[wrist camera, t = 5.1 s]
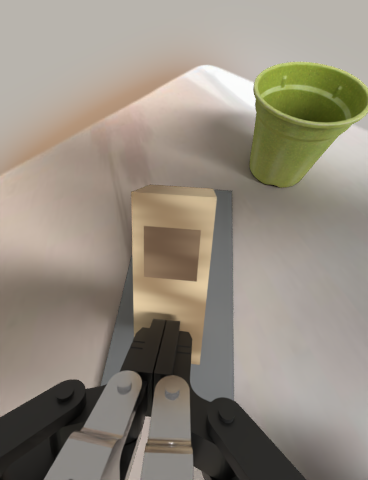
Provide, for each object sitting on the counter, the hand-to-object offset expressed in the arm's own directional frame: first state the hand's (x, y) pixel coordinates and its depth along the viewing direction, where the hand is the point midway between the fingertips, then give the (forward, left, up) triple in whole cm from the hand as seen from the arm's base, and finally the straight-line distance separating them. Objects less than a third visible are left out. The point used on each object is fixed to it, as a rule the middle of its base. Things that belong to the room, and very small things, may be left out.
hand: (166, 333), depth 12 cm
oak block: (0, 0, -4) cm, 4 cm away
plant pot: (-10, -19, -6) cm, 22 cm away
